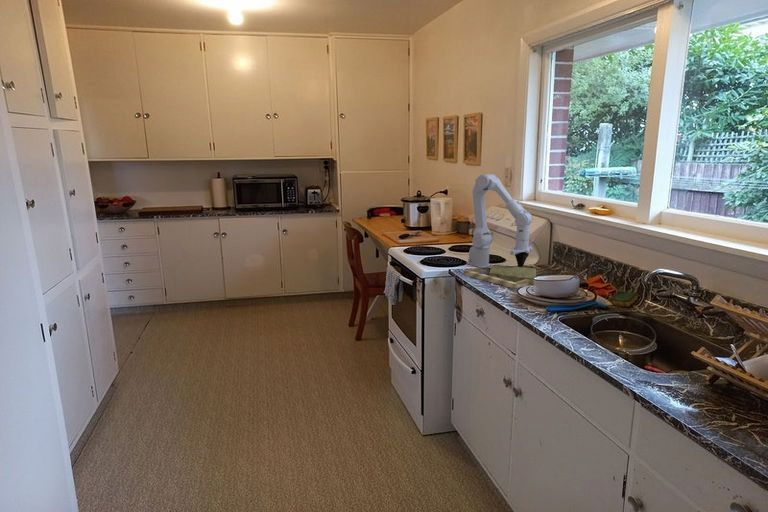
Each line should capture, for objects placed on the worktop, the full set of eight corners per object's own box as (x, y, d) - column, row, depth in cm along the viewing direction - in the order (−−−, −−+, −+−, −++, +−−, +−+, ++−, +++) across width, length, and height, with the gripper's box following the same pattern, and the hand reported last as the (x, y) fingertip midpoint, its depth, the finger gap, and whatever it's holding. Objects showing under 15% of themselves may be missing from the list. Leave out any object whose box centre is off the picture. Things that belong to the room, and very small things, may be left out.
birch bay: (463, 274, 214) (464, 270, 214) (478, 271, 220) (478, 267, 220) (514, 288, 194) (514, 284, 194) (528, 284, 200) (528, 279, 200)
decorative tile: (491, 270, 223) (492, 263, 223) (536, 274, 217) (536, 266, 216) (486, 280, 206) (487, 272, 205) (535, 285, 200) (535, 277, 199)
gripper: (520, 242, 208) (518, 272, 212) (539, 238, 218) (536, 267, 221) (507, 240, 214) (505, 269, 217) (525, 236, 223) (523, 264, 226)
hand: (520, 268), depth 219 cm, fingers closed, pressing on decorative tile
